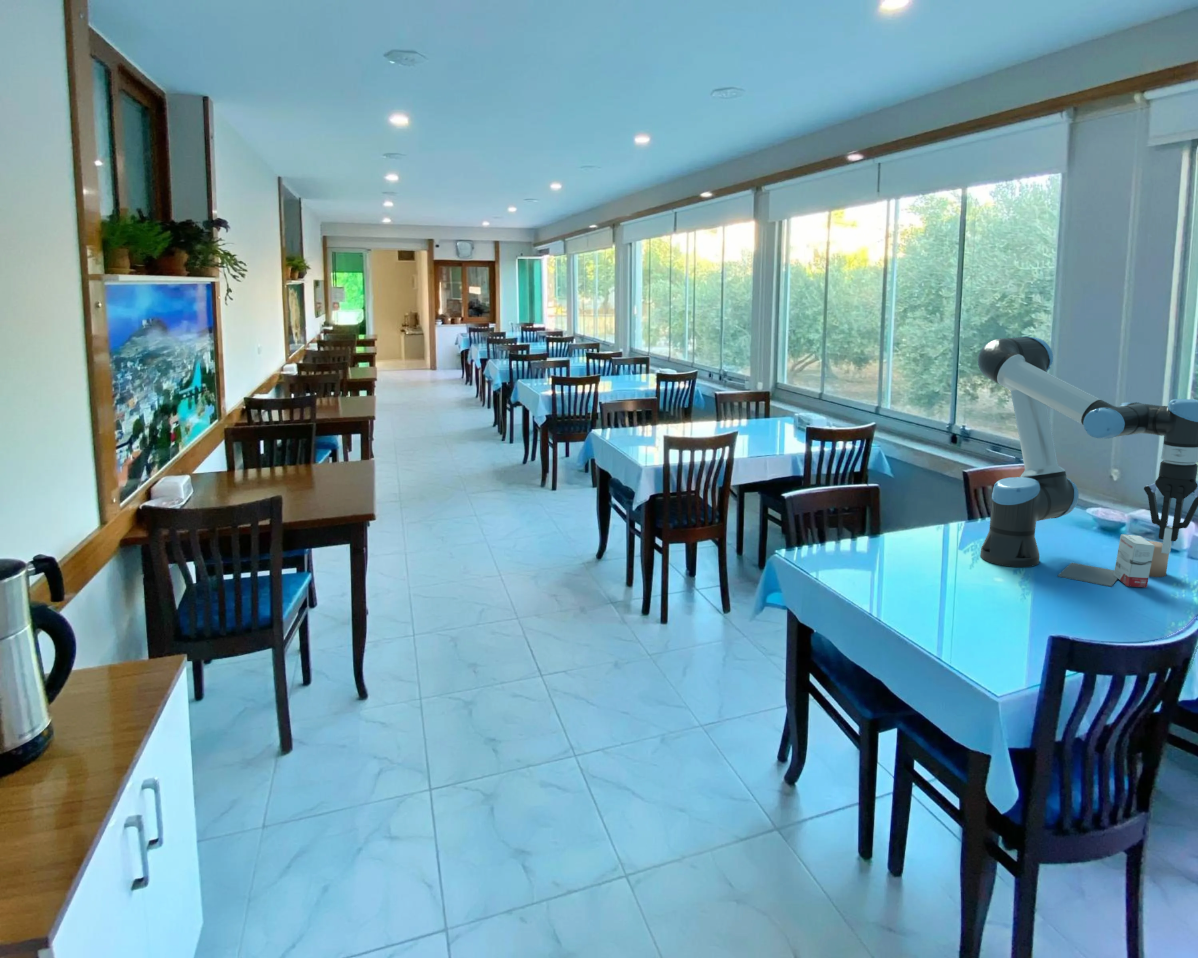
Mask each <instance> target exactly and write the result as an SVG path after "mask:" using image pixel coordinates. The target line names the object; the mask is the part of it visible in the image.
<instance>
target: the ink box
mask: <svg viewBox="0 0 1198 958" xmlns="http://www.w3.org/2000/svg"><path fill="white" fill-rule="evenodd" d="M1148 541H1149V540H1147V539H1146V538H1144V537H1143V536H1141V535H1134V534H1133V535H1131V534H1125V533H1124V534H1123V533H1122V534H1120V536H1119V541H1118V542H1119V544H1118V548H1117V554H1116V560H1115V566H1114V569H1113V570H1114V576H1115V577H1116V578H1118V580H1119V581H1120V582H1121V583H1122V584H1124V585H1125V586H1126V587H1132V588H1133V587H1134V588H1135V587H1136V588H1145V589H1146V588H1148V583H1149V578H1150V576H1149V573H1150V568H1151V563H1152V557H1153V552H1154V547H1155V545H1153V544H1152V543H1150V542H1148Z"/></svg>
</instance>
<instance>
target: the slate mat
mask: <svg viewBox="0 0 1198 958" xmlns="http://www.w3.org/2000/svg"><path fill="white" fill-rule="evenodd" d="M1114 570H1115V569H1110V568H1109V569H1108V568H1103V567H1096V566H1093V565H1087V564H1083V563H1076V562H1071V563H1070V564H1068V566H1066V567H1065V568H1064V569H1063V570H1062V571H1060V572H1059V573H1058V575H1057V577H1058V578H1065V579H1070V580H1074V581H1075V580H1076V581H1080V582H1085V583H1089V584H1094V585H1101V586H1105V587H1109V588H1111V587H1113V586H1114V584H1115V583H1116V582H1117V581H1118V580H1119V579H1118V578H1116V577H1115V576H1114Z"/></svg>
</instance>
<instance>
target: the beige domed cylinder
mask: <svg viewBox="0 0 1198 958" xmlns="http://www.w3.org/2000/svg"><path fill="white" fill-rule="evenodd" d="M1147 541H1148V542H1150V543H1152V544H1153V545H1155V547H1154V552H1153V557H1152V563H1151V568H1150V573H1149V578H1150V577H1152V578H1165V577H1166V576H1167V571H1168V564H1169V563H1168V562H1169V557H1170V553H1169V554H1165V553H1161V552H1162V545H1163V542H1158V541H1153V540H1152V541H1151V540H1147Z"/></svg>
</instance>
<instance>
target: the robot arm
mask: <svg viewBox="0 0 1198 958" xmlns="http://www.w3.org/2000/svg"><path fill="white" fill-rule="evenodd" d="M1053 361H1054V354H1053V350H1052V348H1051V346H1050V345H1049V343H1047V342H1046V341H1045V340H1043V339H1041V338H1038V337H1035V336H1034V337H1033V336H1031V337H1030V336H1023V337H1021V336H1020V337H1019V336H1018V337H1008V338H1007V337H1003V338H996V339H992V340H991V341H989V342H987V343H986V344H985V345H984V346H983V347H982V348H981V349H980V350H979V354H978V356H977V365H978V369H979V371H980V372H981V373H982V375H983V376H984V377H986V378H987V379H989V380H991V381H992V382H994V383H996V384H998V385H1000V386H1002V387H1004V388H1005V389H1007V390H1009V392H1010V395H1011V399H1012V406H1013V411H1014V416H1015V423H1016V429H1017V433H1018V438H1019V444H1020V448H1021V454H1022V460H1023V465H1024V471H1023V472H1022V473H1021V475H1020V476H1016V477H1012V476H1011V477H1006V478H1005V477H1004V478H1002V479H999V480H997V481H996V482H995V483H994V485H993V489H992V493H991V508H990V519H989V520H990V521H989V530H988V534H987V535H986V537H985V539H984V541H983V542H982V545H981V547H980V555H979V556H980V558H981V559H983V560H984V561H986V562H989V563H992V564H995V565H1000V566H1004V567H1012V568H1029V567H1035V566H1038V564H1039V563H1040V558H1041V557H1040V555H1041V554H1040V551H1039V547H1038V544H1037V541H1036V540H1037V539H1036V537H1035V535H1036V525H1037V522H1039V521H1045V520H1049V519H1050V520H1051V519H1058V518H1061V517H1063V516H1066V515H1068V514H1070V513H1071V512H1072V511H1073V510H1074V509H1075V508H1076V506H1077V504H1078V502H1079V497H1080V496H1079V489H1078V486H1077V484H1076V483H1075V482H1073V481H1072V479H1071V478H1068V477H1067V472H1066V469H1065V468H1063V467H1062V466H1060V465H1059V463H1058V457H1057V453H1056V452H1057V451H1056V447H1055V446H1056V445H1055V440H1054V435H1053V430H1052V423H1051V420H1050V414H1049V409H1048V407H1049V408H1051V409H1052V410H1054V411H1056V412H1059V413H1060V414H1062V415H1063V416H1065V417H1067V418H1070V419H1071V420H1073V421H1074V422H1076V423H1078V424H1080V425H1083V429H1084V430H1085V431H1086V433H1087V435H1089V436H1090V437H1092V438H1094V439H1113V438H1118V437H1124V436H1133V435H1139V434H1146V435H1154V436H1155V435H1156V436H1161V437H1163V443H1162V444H1163V445H1162V451H1161V457H1160V458H1161V462H1160V465H1159V470H1158V476H1157V479H1155V482H1154V483H1152V484H1146V485H1145V486H1144V487H1143V490H1144V492H1145V493H1146V495H1147V499H1148V506H1149V513H1150V518H1151V523H1152V525H1157V526H1158V527H1159V531H1158V539H1159V540H1162V543H1163V545H1162V552H1161V553H1165V554H1169V555H1170V553H1171V550H1172V543H1173V542H1177V540H1178V539H1179V534H1180V533H1179V532H1180V529H1187V528H1188V527H1189V525H1190V524H1191V522H1192V520H1193V517H1194V515H1195V514H1196V512H1197V509H1198V484H1197V473H1198V464H1197V463H1198V399H1191V398H1189V399H1188V398H1175V399H1174V398H1173V399H1171V400H1170V401H1169V403H1168V405H1157V404H1151V403H1150V404H1149V403H1141V402H1137V401H1136V402H1127V401H1126V402H1121V403H1120V404H1119V406H1116V405H1113V404H1111V403H1109V402H1107V401H1104V399H1101V398H1100V397H1097V396H1096V395H1093V394H1092V393H1089V392H1087V391H1085V390H1083V389H1081V388H1079V387H1077V386H1075V385H1073V384H1071V383H1069V382H1067V381H1065V380H1063V379H1061V378H1059V377H1058V376H1056V375H1053V374H1051V373H1049V372H1048V371H1049V370H1050V369H1051V366H1052V365H1053ZM1157 489H1158V491H1159V492H1160V494H1161V495H1162V496H1163V500H1162V501H1163V503H1162V508H1161V516H1159V509H1158V503H1157V496H1156V492H1157ZM1193 492H1194V494H1193V498H1194V500H1193V501H1192V503H1191V506H1190V508H1189V509H1188V512H1187V513H1186V516H1185V517H1184V520H1183V522H1182V521H1181V519H1182V513H1183V508H1184V501H1185V499H1186V498H1187V497H1189V496H1190V495H1191V494H1192V493H1193ZM1172 499H1175V508H1174V514H1173V521H1172V526H1170V525H1169V526H1168V524H1169V523H1168V521H1169V517H1170V514H1169V513H1170V508H1171V503H1172V502H1171V501H1172Z"/></svg>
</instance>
